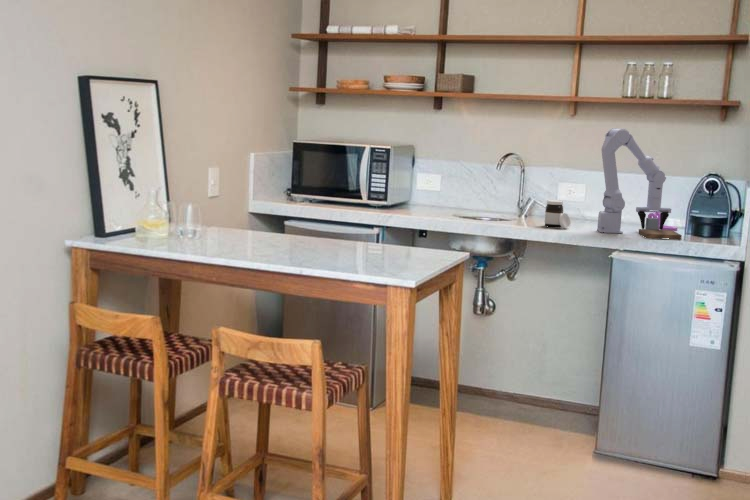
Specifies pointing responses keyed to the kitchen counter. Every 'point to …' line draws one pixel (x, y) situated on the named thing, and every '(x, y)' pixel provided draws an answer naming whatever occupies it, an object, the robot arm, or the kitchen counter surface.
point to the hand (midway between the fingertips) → (651, 228)
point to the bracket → (659, 222)
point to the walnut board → (659, 234)
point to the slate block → (652, 223)
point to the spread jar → (556, 215)
